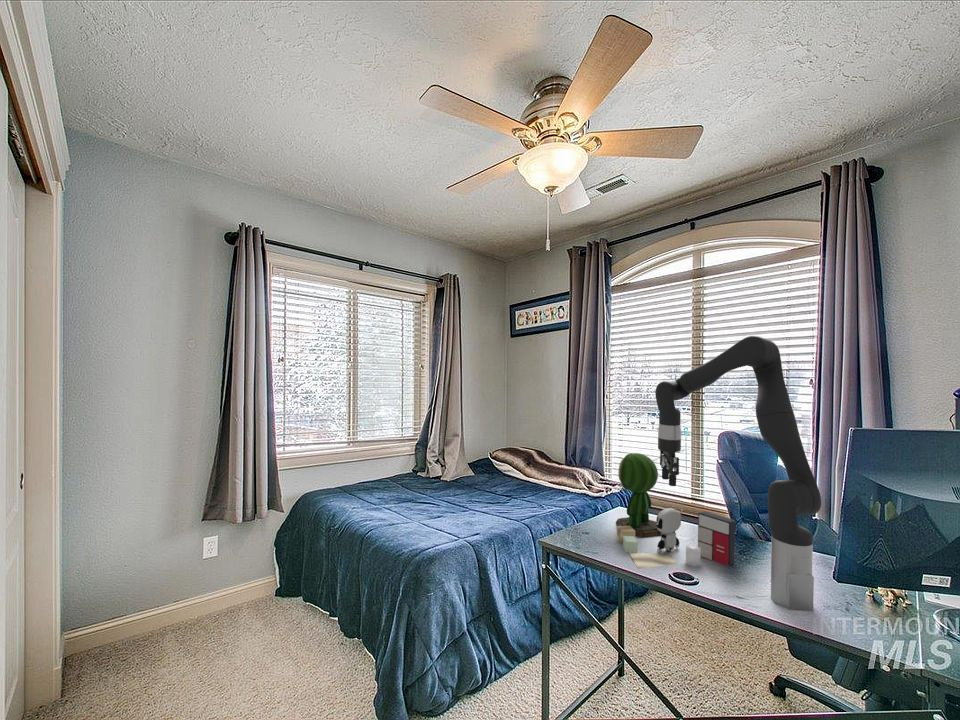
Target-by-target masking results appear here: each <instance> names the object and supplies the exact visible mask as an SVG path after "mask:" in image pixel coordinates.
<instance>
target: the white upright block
mask: <svg viewBox="0 0 960 720" xmlns="http://www.w3.org/2000/svg"><path fill="white" fill-rule="evenodd" d="M701 557H702V556H701V548H700V547H698V545H694V544H687V545H685V564H686V565H687V566H690V567H693V568H699V567H701V563H702V562H701V559H702V558H701Z"/></svg>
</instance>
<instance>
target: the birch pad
mask: <svg viewBox="0 0 960 720" xmlns="http://www.w3.org/2000/svg"><path fill="white" fill-rule="evenodd" d="M629 556H630V557H631V560H632V561H633V563H634V565H635V567H636V568H637V569H640V570H641V569H646V568H654V567H662V566H670V565H677V564H678V563H677V561H676V559H675V558H674V557H673V555H672V554H661V553H643V552H638V553H629Z"/></svg>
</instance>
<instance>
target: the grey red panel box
mask: <svg viewBox="0 0 960 720" xmlns="http://www.w3.org/2000/svg"><path fill="white" fill-rule="evenodd" d="M697 516H698V521H697V522H698V523H697V524H698V525H697V527H698V528H697V546H698V547H700V548H701V557H702V558H705V559H708V560H709V561H710V560H711V561H713V562H716V563H719V564H721V565H724V566H732V565H735V547H736V545H735V542H736V541H735V539H736V537H735V535H736V532H737V529H736V528H737V521H736V520H735V519H733V518H729V517H726V516H722V515H719V514H715V513H713V512H709V511H705V510H704V511H701V512H698V515H697Z"/></svg>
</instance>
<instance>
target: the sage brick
mask: <svg viewBox="0 0 960 720" xmlns="http://www.w3.org/2000/svg"><path fill="white" fill-rule="evenodd" d="M638 545H639V542H638V540H637V538H636V536H635V537H634V536H623V545H622V547H623V549H624V551H625V553H639V551H638V550H639V549H638V547H639V546H638Z"/></svg>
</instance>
